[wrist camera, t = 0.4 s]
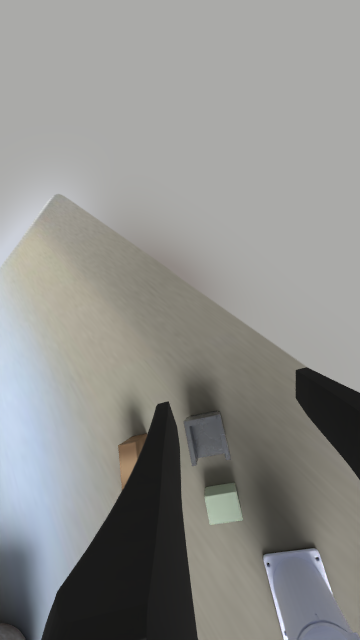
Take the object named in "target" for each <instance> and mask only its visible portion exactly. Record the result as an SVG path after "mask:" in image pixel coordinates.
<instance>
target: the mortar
mask: <svg viewBox="0 0 360 640" xmlns="http://www.w3.org/2000/svg"><path fill="white" fill-rule="evenodd" d="M0 640H25V638H24V636H23V634H22V633H21V632H20V631H19V630H18V629H17V628H16V627H14V626H12V625H10V624H5V623H0Z"/></svg>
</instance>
